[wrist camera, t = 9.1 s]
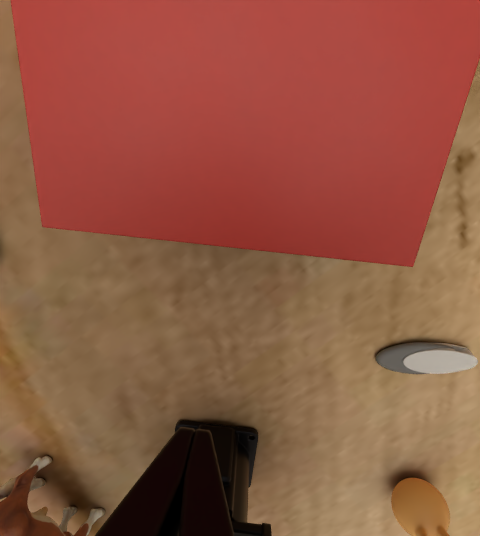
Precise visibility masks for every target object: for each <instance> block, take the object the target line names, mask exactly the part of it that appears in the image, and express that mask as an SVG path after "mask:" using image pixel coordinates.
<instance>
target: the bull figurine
mask: <svg viewBox="0 0 480 536" xmlns="http://www.w3.org/2000/svg"><path fill="white" fill-rule="evenodd" d="M51 462H52V459H51V458H50V457H49V456H44V457H43V458H42V459H41V458H40V457H38V458H37V459H35V460H34V462H33V464H32V465H31V466H30V467H29V468H28V469H27V470H26V471H25V472H24V473H22V474H21V475H19V476H18V477H15V478H11V479H10V480H9V481H8V482H6V483H5V484H4V485H3V486H1V487H0V499H2V498H4V497H7V498H6V499H4V500H3V501H1V502H0V536H73V535H72V534H71V533H70V532H67V524H68V521H69V520H70V518H71V517H72V516H73V515H74V514H75V513H76V512H77V508H76V507H68V508H67V507H65V508H64V510H63V518H62V522H61V524H60V526H59V525H58V524H57V523H56V522H55V521H54V520H53V519H51V518H50V517H47V516H46V513H47V511H48V509H47V507H43V508H42V509H40V510H38V511H36V512H35V513H31V512H30V511H29V509H28V506H27V499H28V494H29V492H30V491H31V490H34V489H36V488H39V487H42V486H44V485H45V480H44V479H42V478H36V479H35V477H34V476H35V474H36V473H37V472H38V471H39V470H40V469H41V468H43V467H45V466H46V465H48V464H49V463H51ZM104 514H105V510H104V509H103V508H98V509H92V510H91V512H90V515H89V518H88V520H87V521H86V522H85V523H84V524H82V525H81V527H80V528H79V530H78V531H77V532H76V534H75V535H74V536H87V535H88V534H89V532H90V530H91V527H92V525H93V523H94V522H95V521H96V520H97V519H98V518H100V517H102V516H103V515H104Z"/></svg>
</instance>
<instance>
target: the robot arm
mask: <svg viewBox="0 0 480 536" xmlns="http://www.w3.org/2000/svg"><path fill="white" fill-rule="evenodd" d="M250 435H252V436H250ZM257 441H258V432H257V431H256V430H255V429H250V428H241V427H232V426H224V425H215V424H207V423H198V422H190V421H178V422H177V424H176V428H175V434H174V435H173V436H172V438H171V439H170V440H169V441H168V443H167V444H166V445H165V447H164V448H163V449H162V450H161V452H160V453H159V454H158V455H157V457H156V458H155V459H154V461H153V462H152V463H151V464H150V466H149V467H148V468H147V469H146V471H145V472H144V473H143V475H142V476H141V477H140V478H139V480H138V481H137V482H136V484H135V485H134V486H133V487H132V489H131V490H130V491H129V492H128V494H127V495H126V496H125V498H124V499H123V500H122V501H121V503H120V504H119V505H118V507H117V508H116V509H115V510H114V512H113V513H112V514H111V515H110V517H109V518H108V519H107V521H106V522H105V523H104V524H103V526H102V527H101V528H100V530H99V531H98V532H97V533H96V535H95V536H272V535H271V524H266V523H262V525H261V524H252V523H247V511H248V488H249V487H250V485H251V479H252V473H253V466H254V460H255V454H256V448H257Z"/></svg>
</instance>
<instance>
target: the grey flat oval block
mask: <svg viewBox="0 0 480 536" xmlns="http://www.w3.org/2000/svg"><path fill="white" fill-rule="evenodd" d="M376 361H377V363H378V364H379V365H381V366H382V367H384V368H386V369H389V370H392V371H396V372H401V373H409V374H430V373H432V374H443V373H453V372H458V371H463V370H467V369H471V368H473V367H475V366H476V365H477V363H478V360H477V359H476V357H475V356H474V355H473V354H472V353H471V352H470V350H469V349H467V348H466V347H462V346H458V345H453V344H447V343H428V342H414V343H406V344H400V345H396V346H392V347H389V348H386V349H384V350H382V351H380V352H379V353H378V354H377V356H376Z"/></svg>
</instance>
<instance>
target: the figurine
mask: <svg viewBox="0 0 480 536" xmlns="http://www.w3.org/2000/svg"><path fill="white" fill-rule="evenodd" d="M391 502H392V509H393V512H394V515H395V517H396V519H397V521H398V522H399V524H400V525H401V527H402V528H403V529H404V530H405V531H406V532H407V533H409V534H410V535H411V536H449V534H448V533H447V530H448V527H449V524H450V513H449V508H448V505H447V503H446V501H445V499H444V497H443V496H442V494H441V493H440V492H439V491H438V490H437V489H436V488H435V487H434V486H433V485H432V484H430V483H429V482H427V481H425V480H422V479H419V478H406V479H404V480H402V481H400V482H399V483H398V484H397V485H396V486H395V488H394V490H393V493H392V499H391Z"/></svg>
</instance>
